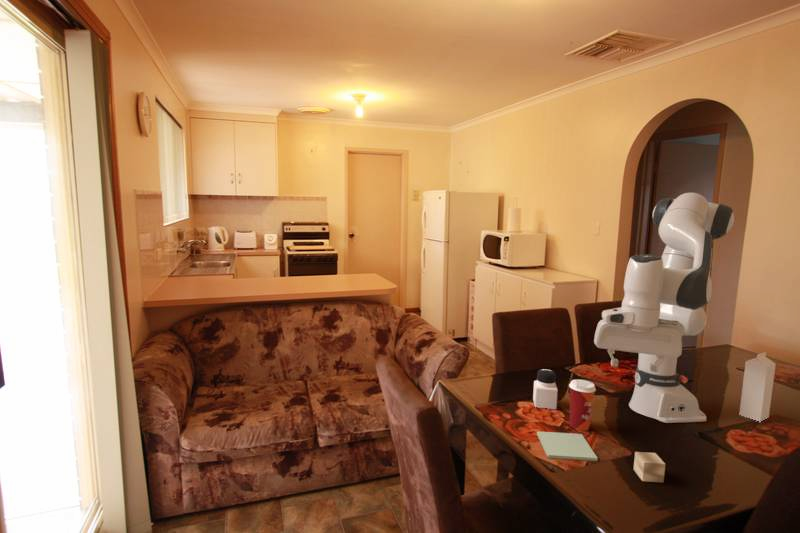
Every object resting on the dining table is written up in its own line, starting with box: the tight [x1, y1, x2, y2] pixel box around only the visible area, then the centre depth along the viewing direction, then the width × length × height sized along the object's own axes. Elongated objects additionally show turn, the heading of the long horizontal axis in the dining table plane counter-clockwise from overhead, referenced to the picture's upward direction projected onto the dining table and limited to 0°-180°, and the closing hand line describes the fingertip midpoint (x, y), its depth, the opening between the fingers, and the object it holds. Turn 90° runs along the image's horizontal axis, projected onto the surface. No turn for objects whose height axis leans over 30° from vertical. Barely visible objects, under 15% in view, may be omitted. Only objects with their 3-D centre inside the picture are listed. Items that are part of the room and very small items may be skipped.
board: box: [536, 431, 599, 462], centre depth 124 cm, size 13×13×1 cm
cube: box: [633, 451, 666, 483], centre depth 111 cm, size 5×5×5 cm
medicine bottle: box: [532, 368, 559, 410], centre depth 151 cm, size 7×7×12 cm
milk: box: [738, 351, 777, 423], centre depth 145 cm, size 6×6×22 cm
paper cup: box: [568, 378, 597, 432], centre depth 136 cm, size 8×8×14 cm
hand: (633, 368), depth 115 cm, fingers open, 8 cm apart
